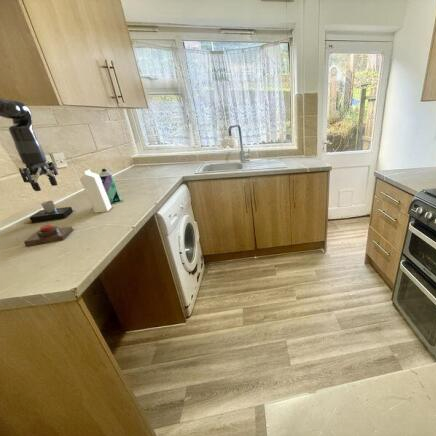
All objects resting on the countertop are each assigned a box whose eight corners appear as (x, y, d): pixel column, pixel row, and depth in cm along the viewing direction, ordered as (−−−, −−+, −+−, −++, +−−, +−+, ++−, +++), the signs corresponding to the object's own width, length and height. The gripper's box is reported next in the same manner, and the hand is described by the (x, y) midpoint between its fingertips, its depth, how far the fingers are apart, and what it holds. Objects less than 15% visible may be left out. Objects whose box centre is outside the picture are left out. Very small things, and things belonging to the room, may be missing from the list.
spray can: (111, 202, 144) (98, 168, 135) (122, 200, 146) (109, 167, 137) (110, 205, 139) (96, 170, 131) (121, 202, 141) (108, 169, 133)
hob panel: (32, 223, 118) (29, 217, 116) (42, 215, 126) (39, 210, 125) (65, 218, 122) (62, 212, 121) (73, 211, 131) (70, 206, 129)
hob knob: (43, 213, 120) (38, 203, 118) (47, 210, 124) (43, 201, 122) (54, 212, 122) (50, 202, 120) (58, 209, 126) (54, 199, 123)
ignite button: (39, 233, 99) (37, 229, 98) (44, 229, 102) (42, 225, 101) (50, 231, 100) (49, 227, 100) (54, 228, 103) (53, 224, 103)
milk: (112, 208, 134) (96, 168, 125) (108, 212, 129) (91, 170, 119) (99, 209, 132) (82, 169, 123) (94, 213, 127) (77, 172, 118)
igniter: (26, 246, 96) (21, 237, 95) (39, 235, 105) (35, 227, 103) (63, 240, 100) (59, 232, 99) (73, 230, 109) (69, 222, 107)
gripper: (36, 149, 110) (51, 184, 116) (4, 154, 97) (22, 193, 103) (53, 148, 110) (67, 183, 117) (23, 153, 97) (41, 192, 104)
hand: (46, 188), depth 110 cm, fingers open, 8 cm apart
